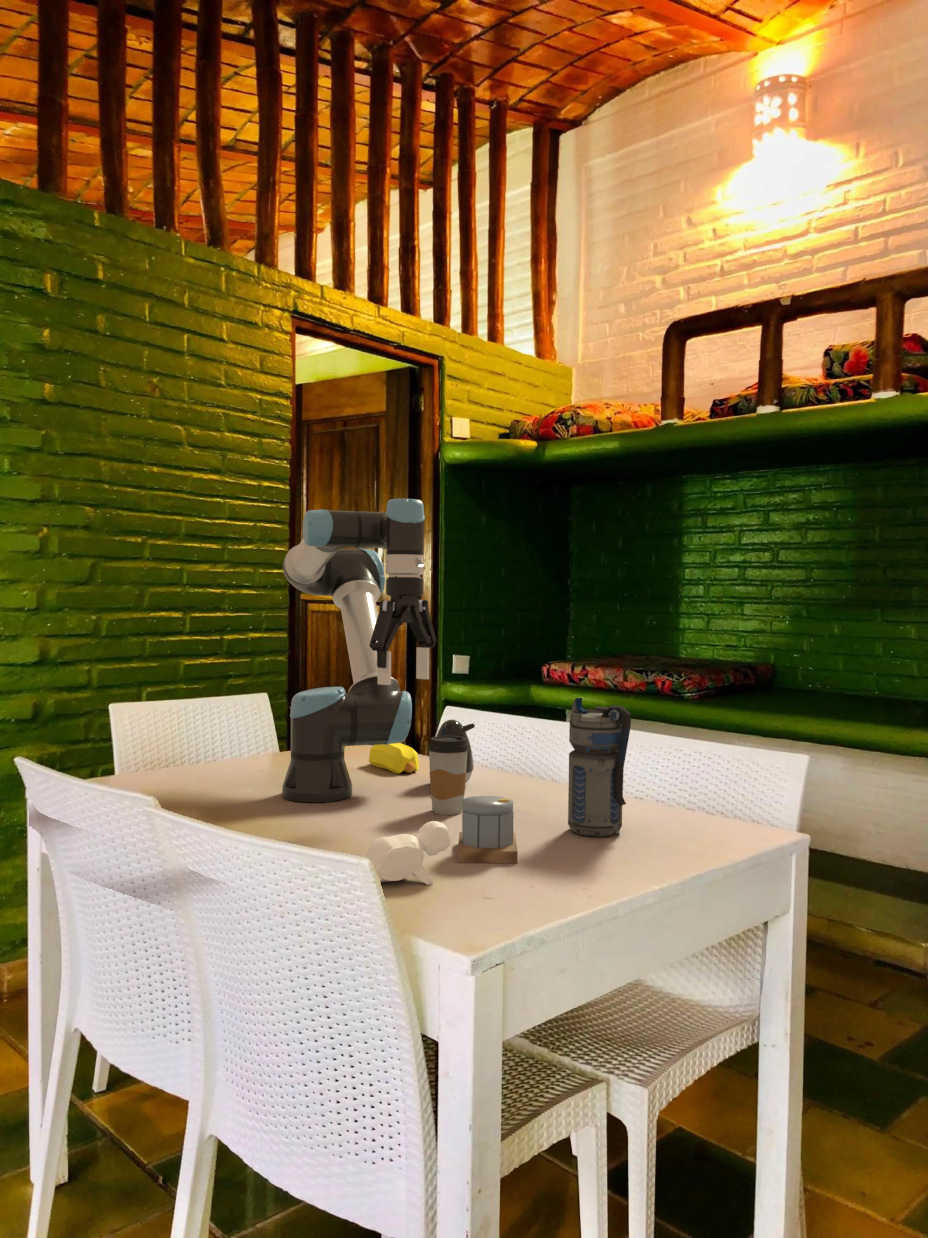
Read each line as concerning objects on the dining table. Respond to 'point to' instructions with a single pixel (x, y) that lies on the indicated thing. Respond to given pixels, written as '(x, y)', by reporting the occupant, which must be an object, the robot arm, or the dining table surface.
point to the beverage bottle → (597, 768)
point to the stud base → (487, 853)
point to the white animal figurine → (408, 852)
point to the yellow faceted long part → (394, 757)
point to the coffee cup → (447, 773)
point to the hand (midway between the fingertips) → (404, 681)
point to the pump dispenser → (458, 730)
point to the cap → (487, 822)
